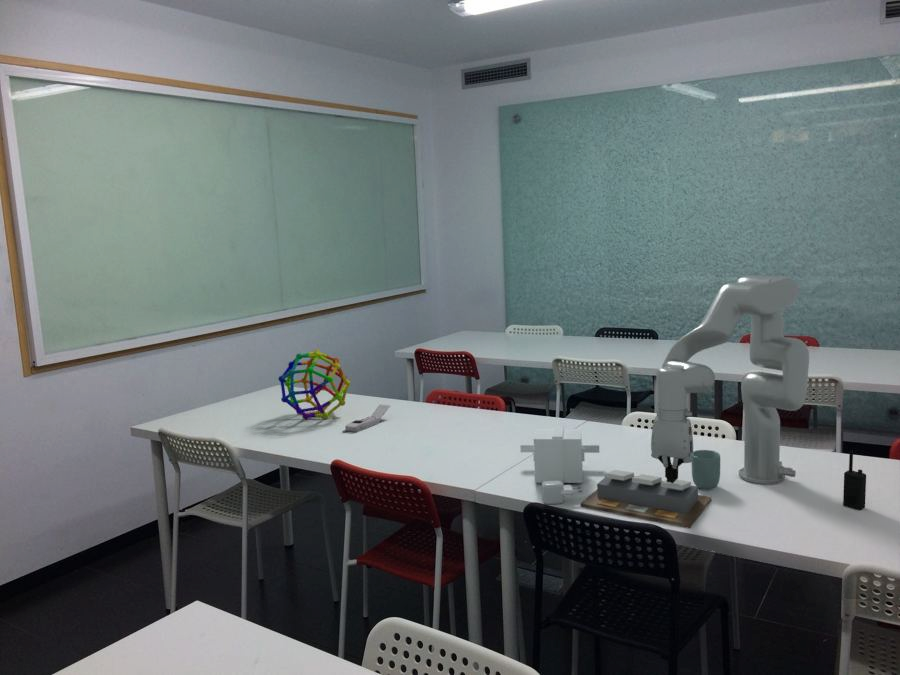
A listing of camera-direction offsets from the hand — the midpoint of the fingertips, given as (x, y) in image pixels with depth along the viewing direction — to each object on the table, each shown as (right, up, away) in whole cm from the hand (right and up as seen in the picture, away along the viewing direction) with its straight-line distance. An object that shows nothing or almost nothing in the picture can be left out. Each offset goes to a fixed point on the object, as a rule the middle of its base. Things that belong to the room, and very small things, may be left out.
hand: (671, 480), depth 189 cm
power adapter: (-27, -9, +12) cm, 31 cm away
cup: (+15, -5, +17) cm, 23 cm away
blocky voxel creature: (-24, -4, +38) cm, 45 cm away
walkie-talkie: (+47, -7, -2) cm, 48 cm away
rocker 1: (-11, -1, +12) cm, 16 cm away
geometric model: (-116, +3, +118) cm, 166 cm away
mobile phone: (-93, +2, +102) cm, 137 cm away
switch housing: (-4, -8, +8) cm, 12 cm away
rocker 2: (-5, -2, +8) cm, 9 cm away
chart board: (-5, -8, +8) cm, 12 cm away
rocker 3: (+2, -2, +3) cm, 4 cm away
